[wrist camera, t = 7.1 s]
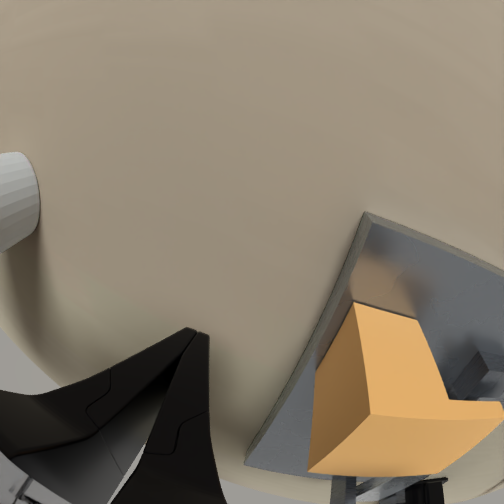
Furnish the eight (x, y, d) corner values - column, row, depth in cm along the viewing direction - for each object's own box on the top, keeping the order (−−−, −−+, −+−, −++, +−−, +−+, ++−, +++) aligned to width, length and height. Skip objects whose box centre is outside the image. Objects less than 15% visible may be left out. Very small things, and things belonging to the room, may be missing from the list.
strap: (377, 491, 14) (376, 501, 13) (346, 491, 15) (345, 501, 14) (508, 397, 8) (513, 411, 7) (479, 397, 8) (484, 413, 7)
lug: (419, 391, 11) (437, 473, 6) (315, 372, 11) (306, 471, 7) (464, 333, 9) (506, 417, 5) (353, 302, 10) (371, 413, 5)
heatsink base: (421, 467, 17) (425, 507, 12) (247, 450, 18) (233, 500, 14) (566, 306, 8) (600, 347, 4) (364, 211, 10) (402, 268, 5)
